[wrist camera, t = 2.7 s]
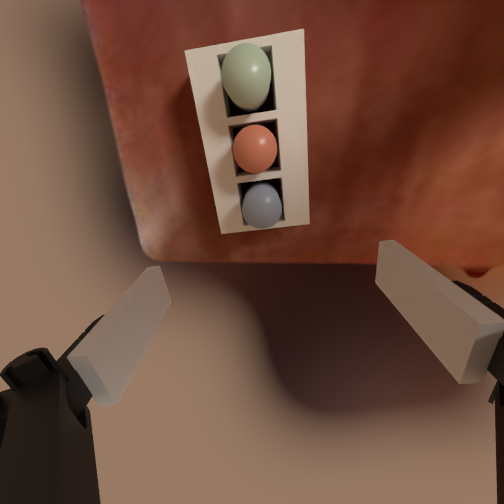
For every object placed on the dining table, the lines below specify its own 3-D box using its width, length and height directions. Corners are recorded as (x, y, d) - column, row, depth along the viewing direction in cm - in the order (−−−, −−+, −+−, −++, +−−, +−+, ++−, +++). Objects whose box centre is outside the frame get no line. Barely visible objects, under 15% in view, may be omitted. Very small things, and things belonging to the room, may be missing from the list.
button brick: (235, 130, 29) (229, 128, 23) (272, 125, 28) (275, 121, 23) (240, 169, 31) (236, 175, 25) (275, 165, 30) (278, 170, 25)
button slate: (242, 183, 32) (239, 192, 26) (276, 179, 31) (280, 187, 26) (247, 216, 33) (245, 230, 28) (279, 212, 33) (283, 226, 28)
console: (196, 65, 28) (184, 50, 24) (296, 47, 27) (303, 28, 23) (226, 222, 37) (221, 234, 32) (303, 213, 36) (309, 223, 31)
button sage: (225, 67, 26) (216, 47, 21) (266, 60, 26) (268, 38, 20) (232, 114, 28) (226, 107, 23) (270, 108, 28) (273, 100, 22)
